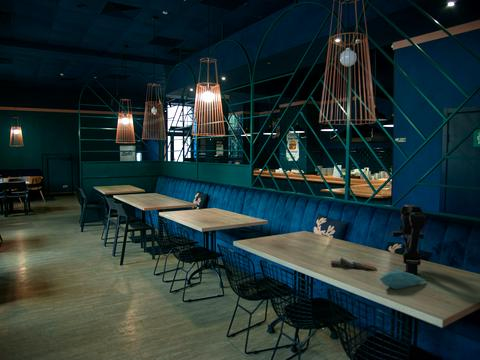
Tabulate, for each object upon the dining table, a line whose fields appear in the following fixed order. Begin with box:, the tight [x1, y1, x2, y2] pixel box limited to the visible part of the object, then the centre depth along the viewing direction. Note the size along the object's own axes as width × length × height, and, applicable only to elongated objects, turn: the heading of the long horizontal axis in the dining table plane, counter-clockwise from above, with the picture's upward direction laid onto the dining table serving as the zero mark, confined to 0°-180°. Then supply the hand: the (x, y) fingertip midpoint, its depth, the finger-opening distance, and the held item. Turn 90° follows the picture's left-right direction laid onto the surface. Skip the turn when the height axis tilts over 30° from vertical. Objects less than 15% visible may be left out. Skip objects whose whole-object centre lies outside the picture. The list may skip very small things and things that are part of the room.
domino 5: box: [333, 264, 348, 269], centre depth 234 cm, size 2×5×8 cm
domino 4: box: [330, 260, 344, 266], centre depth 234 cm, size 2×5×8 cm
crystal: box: [379, 269, 426, 290], centre depth 199 cm, size 10×34×10 cm, turn 112°
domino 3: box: [339, 257, 354, 269], centre depth 232 cm, size 2×5×8 cm
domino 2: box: [352, 261, 367, 270], centre depth 231 cm, size 2×5×8 cm
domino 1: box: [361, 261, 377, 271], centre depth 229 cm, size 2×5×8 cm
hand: (407, 247), depth 235 cm, fingers closed
